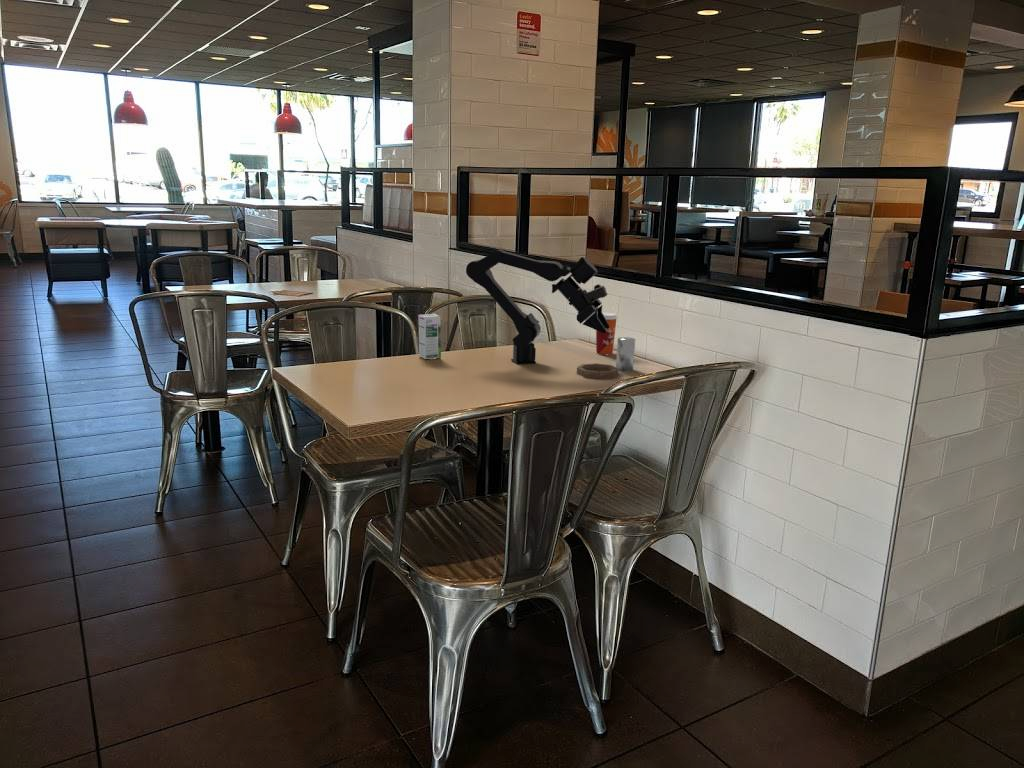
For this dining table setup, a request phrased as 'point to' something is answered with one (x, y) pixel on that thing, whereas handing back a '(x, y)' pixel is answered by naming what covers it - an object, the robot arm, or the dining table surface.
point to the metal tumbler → (625, 354)
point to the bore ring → (604, 369)
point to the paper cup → (606, 335)
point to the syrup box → (430, 336)
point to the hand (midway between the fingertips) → (607, 330)
